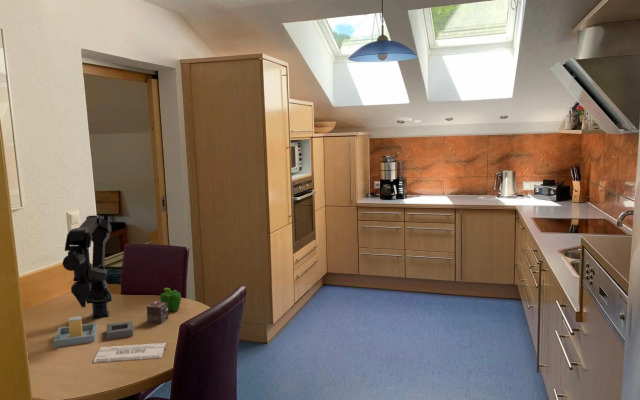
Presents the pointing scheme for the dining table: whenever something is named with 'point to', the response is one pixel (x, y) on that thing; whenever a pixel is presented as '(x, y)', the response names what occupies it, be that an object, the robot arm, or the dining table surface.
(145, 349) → the newspaper
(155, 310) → the box
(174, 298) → the bell pepper
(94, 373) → the dining table surface
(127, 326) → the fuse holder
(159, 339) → the dining table surface
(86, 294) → the robot arm
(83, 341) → the parts tray
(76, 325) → the block
